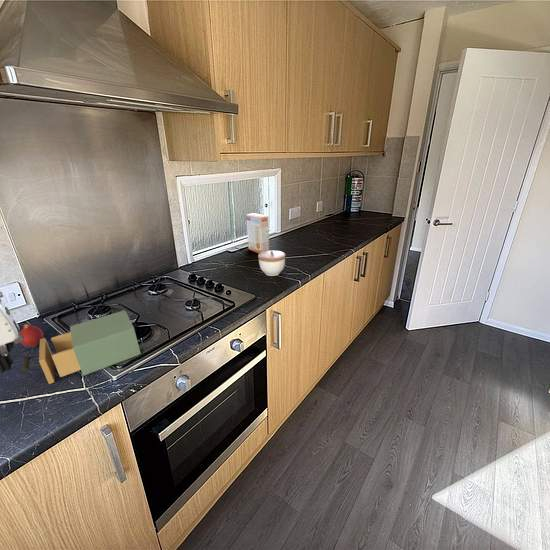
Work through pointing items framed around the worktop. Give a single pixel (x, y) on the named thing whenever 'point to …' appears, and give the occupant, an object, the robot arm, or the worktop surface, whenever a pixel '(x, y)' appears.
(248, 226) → the cracker box
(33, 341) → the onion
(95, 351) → the green box
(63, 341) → the wooden pull-out drawer
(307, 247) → the worktop surface
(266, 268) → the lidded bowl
